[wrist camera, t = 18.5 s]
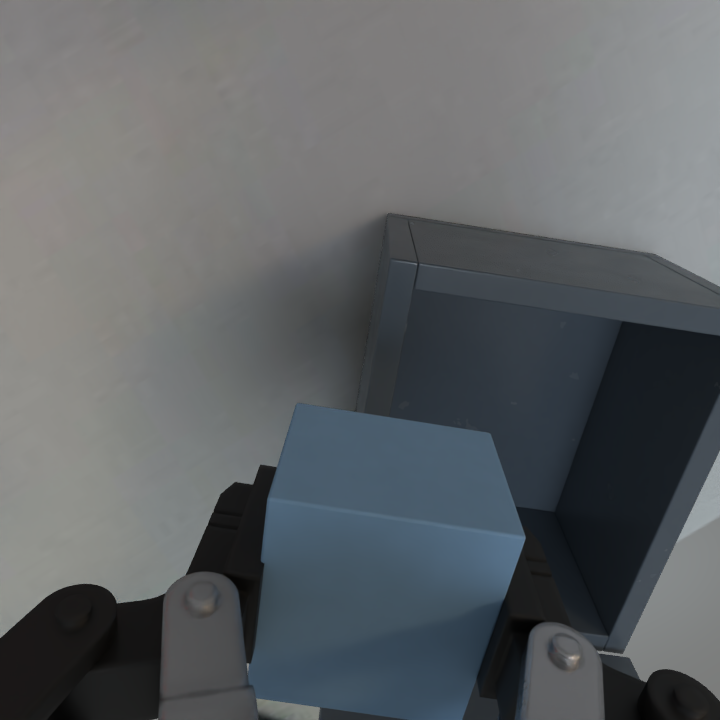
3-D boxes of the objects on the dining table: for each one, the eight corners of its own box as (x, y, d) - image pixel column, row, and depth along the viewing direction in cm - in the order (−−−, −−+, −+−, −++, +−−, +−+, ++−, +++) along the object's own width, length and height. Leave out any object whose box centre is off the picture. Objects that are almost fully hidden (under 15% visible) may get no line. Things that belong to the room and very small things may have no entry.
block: (296, 401, 13) (266, 498, 10) (491, 432, 13) (527, 538, 10) (275, 570, 15) (245, 698, 12) (443, 595, 15) (460, 728, 12)
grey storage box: (387, 212, 28) (390, 258, 19) (656, 254, 29) (783, 318, 20) (343, 485, 35) (329, 614, 26) (561, 516, 36) (623, 654, 26)
